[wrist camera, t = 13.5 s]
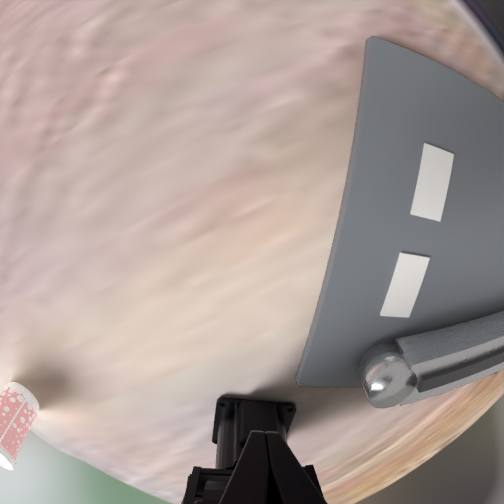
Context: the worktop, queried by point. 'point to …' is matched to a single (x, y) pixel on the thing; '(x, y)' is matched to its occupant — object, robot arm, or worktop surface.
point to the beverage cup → (15, 421)
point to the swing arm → (432, 361)
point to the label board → (411, 214)
